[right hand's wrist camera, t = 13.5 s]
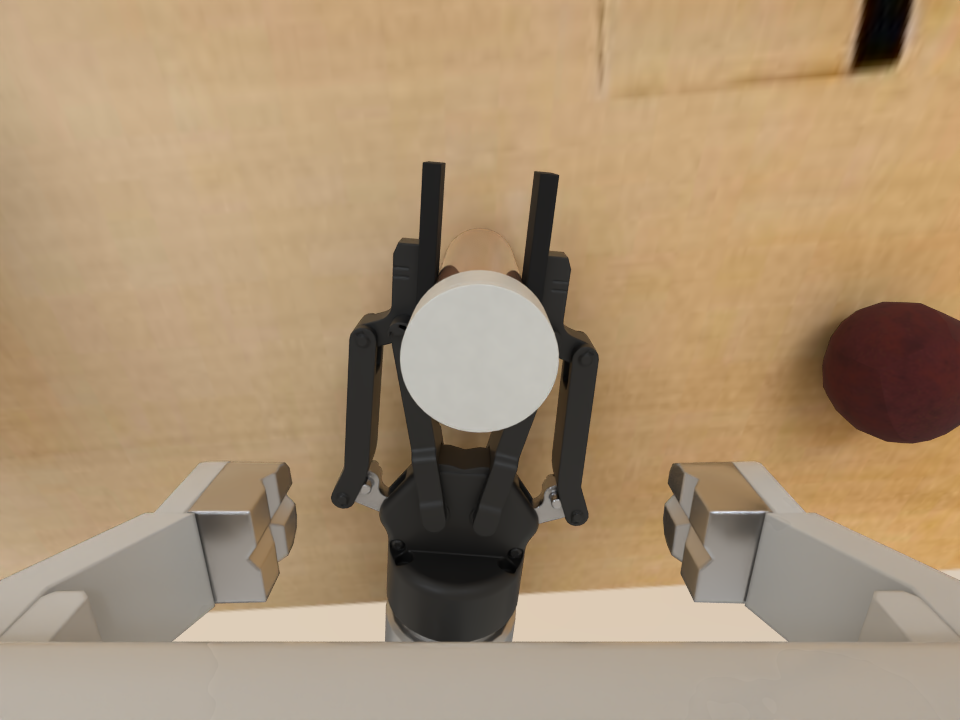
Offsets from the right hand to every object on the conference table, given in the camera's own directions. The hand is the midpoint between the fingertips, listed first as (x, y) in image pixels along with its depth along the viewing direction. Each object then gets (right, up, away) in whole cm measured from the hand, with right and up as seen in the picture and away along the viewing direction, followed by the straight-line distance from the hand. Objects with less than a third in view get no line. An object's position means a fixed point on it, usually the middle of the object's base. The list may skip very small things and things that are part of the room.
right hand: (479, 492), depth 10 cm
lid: (0, +3, +7) cm, 7 cm away
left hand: (0, +11, +13) cm, 17 cm away
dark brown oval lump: (+23, +3, +23) cm, 33 cm away
